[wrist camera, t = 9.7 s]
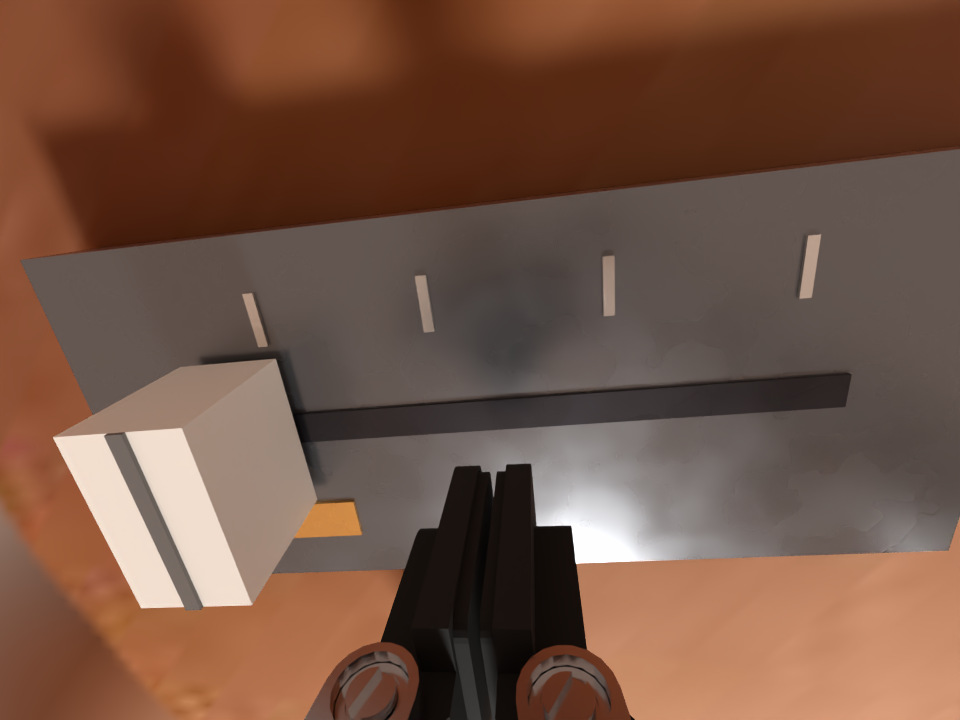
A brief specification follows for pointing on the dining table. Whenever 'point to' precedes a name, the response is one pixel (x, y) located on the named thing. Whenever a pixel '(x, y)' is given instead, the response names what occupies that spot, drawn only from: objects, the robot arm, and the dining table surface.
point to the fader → (195, 482)
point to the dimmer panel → (583, 357)
